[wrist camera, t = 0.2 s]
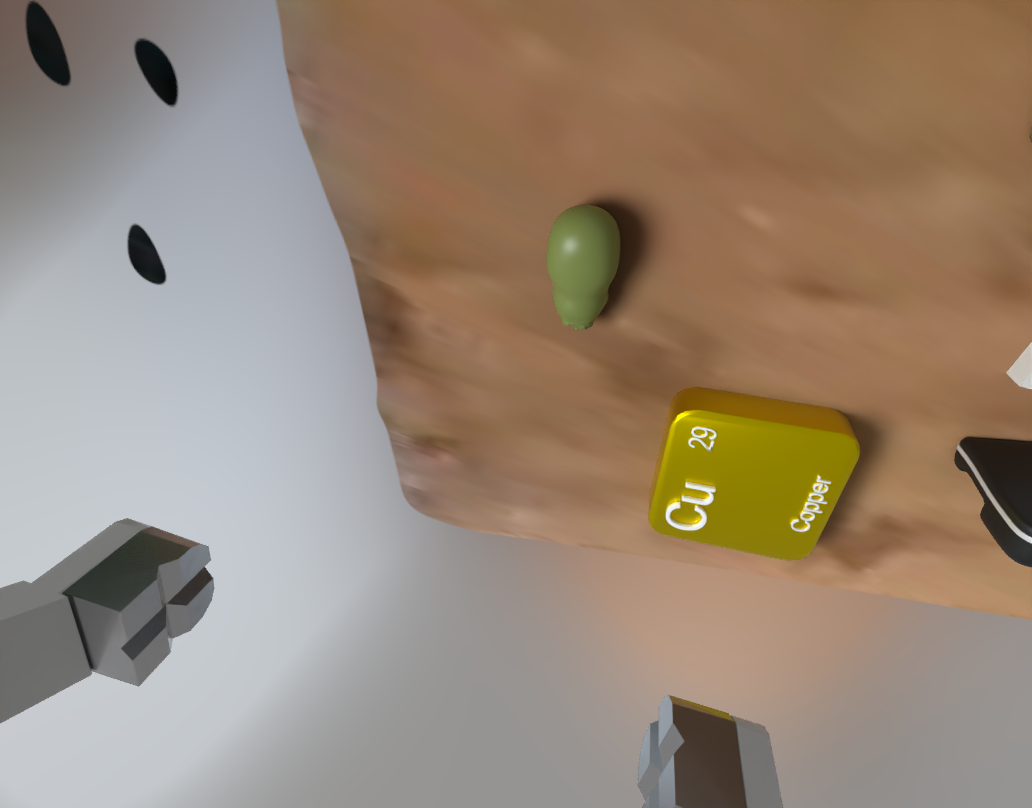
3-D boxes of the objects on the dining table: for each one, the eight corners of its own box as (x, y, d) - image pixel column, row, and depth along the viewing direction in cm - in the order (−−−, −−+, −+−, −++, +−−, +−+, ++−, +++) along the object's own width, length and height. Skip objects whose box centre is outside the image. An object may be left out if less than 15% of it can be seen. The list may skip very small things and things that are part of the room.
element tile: (798, 533, 55) (807, 570, 51) (646, 503, 57) (644, 536, 54) (856, 409, 46) (872, 442, 43) (675, 381, 49) (674, 410, 45)
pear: (622, 227, 37) (606, 345, 44) (629, 197, 41) (613, 310, 48) (542, 220, 38) (538, 336, 45) (555, 190, 42) (551, 302, 49)
